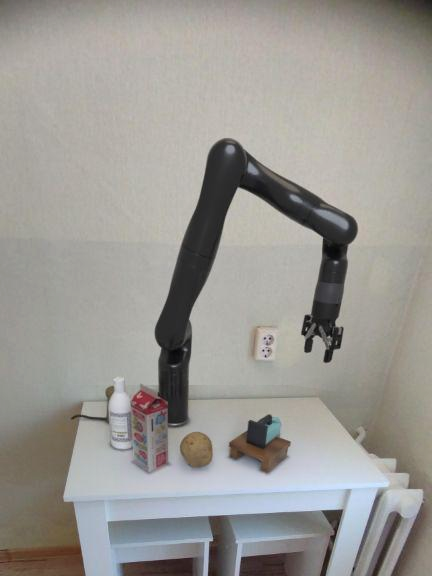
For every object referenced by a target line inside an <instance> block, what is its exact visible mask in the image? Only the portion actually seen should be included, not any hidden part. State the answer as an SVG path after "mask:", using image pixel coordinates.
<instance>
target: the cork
mask: <svg viewBox="0 0 432 576" xmlns="http://www.w3.org/2000/svg"><path fill="white" fill-rule="evenodd" d="M104 393H105V397H106V398H107V403H106V404H107V405H106V418H107V420H106V423H108V424H109V425H110V423H109V412H108V404H109V400H110V398H111V396H112V394H113V393H114V385H109V386H108V387H107V388H105V391H104Z"/></svg>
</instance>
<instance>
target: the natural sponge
mask: <svg viewBox="0 0 432 576" xmlns="http://www.w3.org/2000/svg"><path fill="white" fill-rule="evenodd" d="M213 449H214V448H213V444H212V440H211V439H210V437H209V435H207V434H206V433H203V432H202V431H201V432H200V431H193V432H190V433H188V434H187V435H185V436H184V437H183V438H182V440H181V442H180V444H179V452H180V454H181V456H182V458H183V460H184V461H185V462H186V463H187V464H188V465H189V466H191V467H193V468H200V467H203V466H208V465H210V464H211V463H212V461H213V457H214V452H213V451H214V450H213Z"/></svg>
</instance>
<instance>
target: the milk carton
mask: <svg viewBox="0 0 432 576" xmlns="http://www.w3.org/2000/svg"><path fill="white" fill-rule="evenodd" d="M139 385H140V386H139V388H140V389H139V390H138V391H137V392H136V393H135V394H134V395H133V396H132V397H130V398H131V399H130V403H131V421H132V439H133V447H132V455H133V463H134V464H135V465H138V466H139V467H140V468H141V469H143V470H144V471H146V472H147V473H151V472H153V471H155V470H157V469H160V468H162V467H164V466H167V465H168V464H169V426H168V402H167V401H166V400H164V399H162V398H160V397H158V391H156V390H154V389H152V388H150V387H148V386H147V385H144V384H142V383H140V384H139Z"/></svg>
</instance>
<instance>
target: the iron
mask: <svg viewBox="0 0 432 576" xmlns="http://www.w3.org/2000/svg"><path fill="white" fill-rule="evenodd" d="M281 429H282V421H281V420H280V417H278V416H272V414H266V415H265V416H264V417H262V418H260V419H259V420H257V421H255V420H253V419H249V420H248V422H247V430H246V431H247V440H246V443H248V444H251V445H253V446H256V447H258V448H261V449H265V448H266V447H267V446H268V445H270V444H271V443H272V442H274V441H275V440H276V439H278V438H279V437H280V438H281Z"/></svg>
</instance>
